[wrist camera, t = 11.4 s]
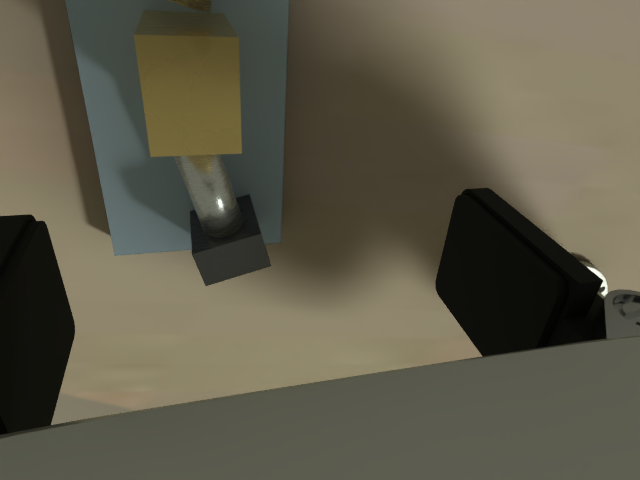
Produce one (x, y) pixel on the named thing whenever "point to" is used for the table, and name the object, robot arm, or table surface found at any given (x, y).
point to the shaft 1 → (195, 4)
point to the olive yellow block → (189, 83)
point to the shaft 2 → (220, 221)
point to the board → (131, 132)
